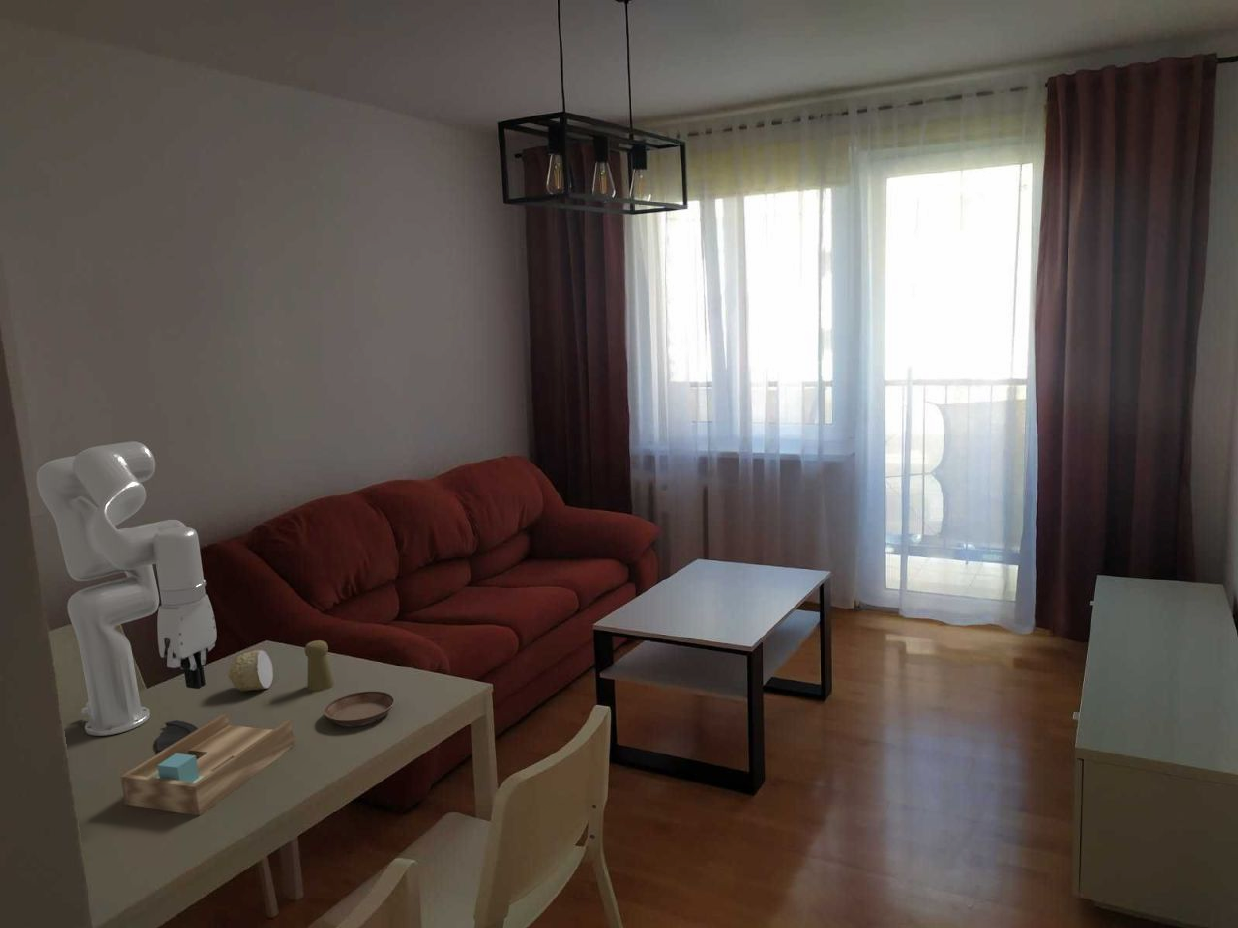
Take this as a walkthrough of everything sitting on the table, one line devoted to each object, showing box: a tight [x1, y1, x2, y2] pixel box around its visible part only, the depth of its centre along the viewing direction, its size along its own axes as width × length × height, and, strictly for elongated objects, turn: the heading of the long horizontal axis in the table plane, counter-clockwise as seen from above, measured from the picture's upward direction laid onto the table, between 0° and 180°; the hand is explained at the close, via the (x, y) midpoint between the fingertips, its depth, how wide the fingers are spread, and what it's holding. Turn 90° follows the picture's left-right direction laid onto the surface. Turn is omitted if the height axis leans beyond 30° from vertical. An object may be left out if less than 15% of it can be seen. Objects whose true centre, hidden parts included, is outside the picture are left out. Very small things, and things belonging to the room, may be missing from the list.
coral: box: [227, 649, 274, 692], centre depth 212 cm, size 10×10×10 cm
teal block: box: [157, 753, 199, 783], centre depth 164 cm, size 4×4×4 cm
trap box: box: [120, 713, 296, 816], centre depth 173 cm, size 17×26×6 cm, turn 162°
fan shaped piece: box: [155, 720, 199, 754], centre depth 190 cm, size 8×14×2 cm, turn 27°
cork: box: [304, 639, 335, 693], centre depth 211 cm, size 6×6×11 cm
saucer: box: [323, 690, 395, 728], centre depth 195 cm, size 15×15×3 cm
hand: (196, 686), depth 169 cm, fingers closed
